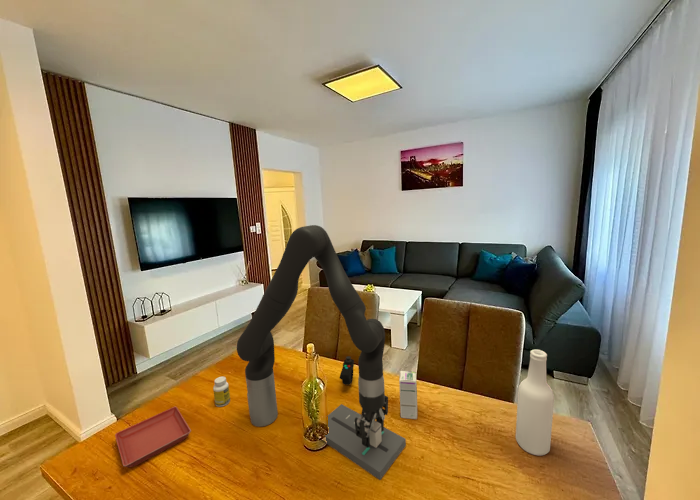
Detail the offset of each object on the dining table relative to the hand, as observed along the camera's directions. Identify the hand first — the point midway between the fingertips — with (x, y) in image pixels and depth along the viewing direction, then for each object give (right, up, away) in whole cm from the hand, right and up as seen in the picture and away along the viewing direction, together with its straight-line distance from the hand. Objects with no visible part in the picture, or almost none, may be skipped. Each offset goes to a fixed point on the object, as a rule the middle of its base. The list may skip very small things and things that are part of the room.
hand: (373, 437), depth 89 cm
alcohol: (+48, -2, 0) cm, 48 cm away
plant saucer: (-71, -7, +9) cm, 72 cm away
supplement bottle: (-56, -3, +25) cm, 62 cm away
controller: (-8, +1, +33) cm, 34 cm away
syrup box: (+14, -1, +15) cm, 21 cm away
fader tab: (0, -1, 0) cm, 1 cm away
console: (-4, -4, +5) cm, 7 cm away
